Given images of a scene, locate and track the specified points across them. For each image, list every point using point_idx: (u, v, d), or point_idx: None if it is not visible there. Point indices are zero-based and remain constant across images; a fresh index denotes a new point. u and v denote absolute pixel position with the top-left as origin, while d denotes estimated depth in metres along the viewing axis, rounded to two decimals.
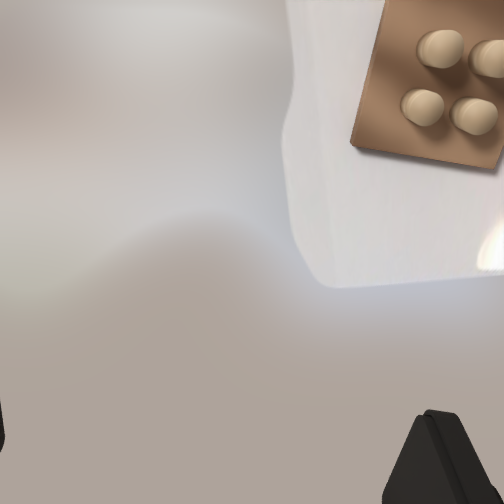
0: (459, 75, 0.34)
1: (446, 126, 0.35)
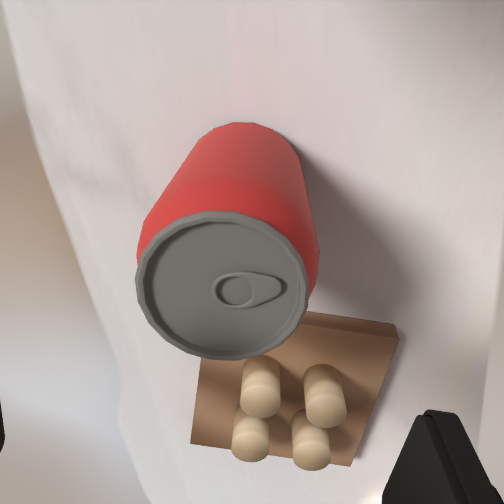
0: (296, 391, 0.29)
1: (290, 431, 0.31)
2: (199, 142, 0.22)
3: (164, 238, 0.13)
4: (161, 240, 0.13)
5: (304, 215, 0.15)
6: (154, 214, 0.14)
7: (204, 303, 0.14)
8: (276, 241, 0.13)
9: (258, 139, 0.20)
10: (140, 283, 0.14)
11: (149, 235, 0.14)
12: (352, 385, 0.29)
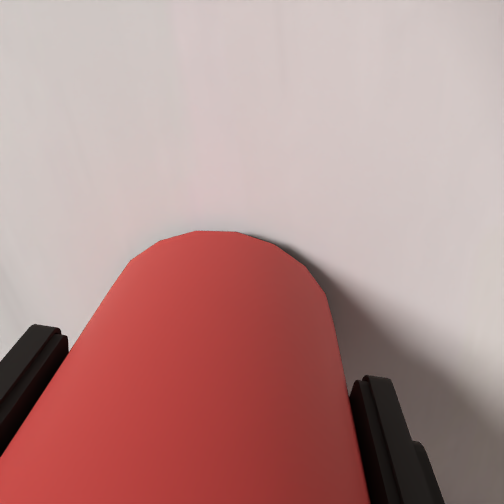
0: None
1: None
2: (122, 280, 0.10)
3: None
4: None
5: None
6: None
7: None
8: None
9: (241, 307, 0.08)
10: None
11: None
12: None
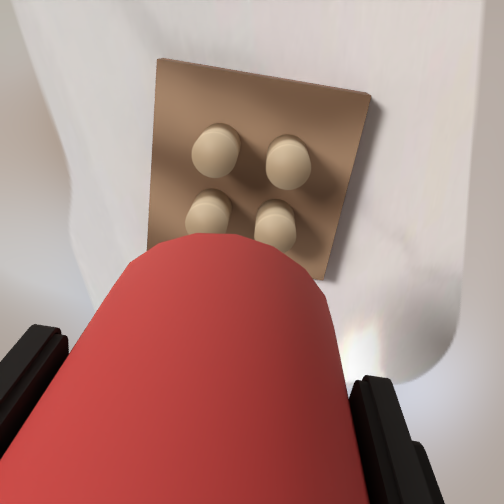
0: (260, 174, 0.27)
1: None
2: (121, 283, 0.10)
3: None
4: None
5: None
6: None
7: None
8: None
9: (241, 311, 0.08)
10: None
11: None
12: (321, 164, 0.26)
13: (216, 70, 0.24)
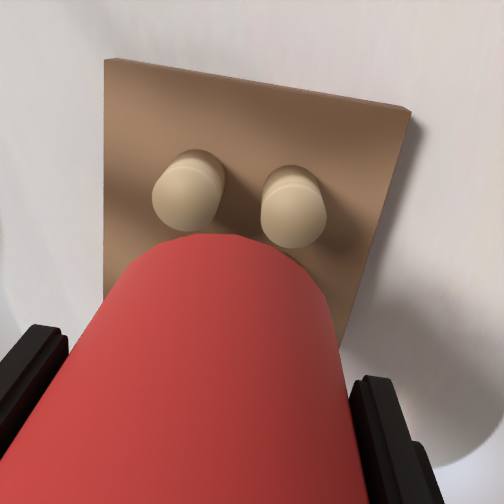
0: (254, 219, 0.19)
1: None
2: (121, 284, 0.10)
3: None
4: None
5: None
6: None
7: None
8: None
9: (241, 311, 0.08)
10: None
11: None
12: (338, 205, 0.19)
13: (189, 75, 0.17)
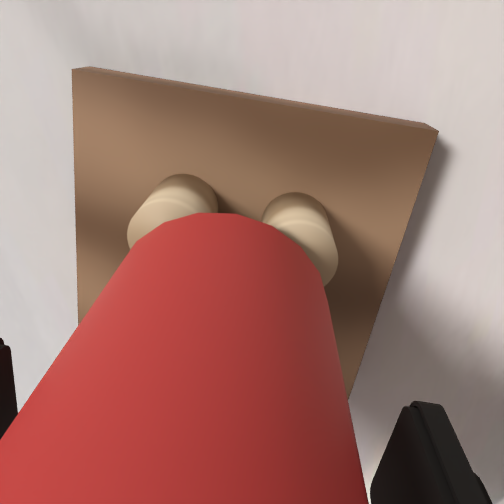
0: None
1: None
2: (129, 257, 0.11)
3: None
4: None
5: None
6: None
7: None
8: None
9: (240, 277, 0.09)
10: None
11: None
12: (349, 238, 0.16)
13: (174, 88, 0.14)
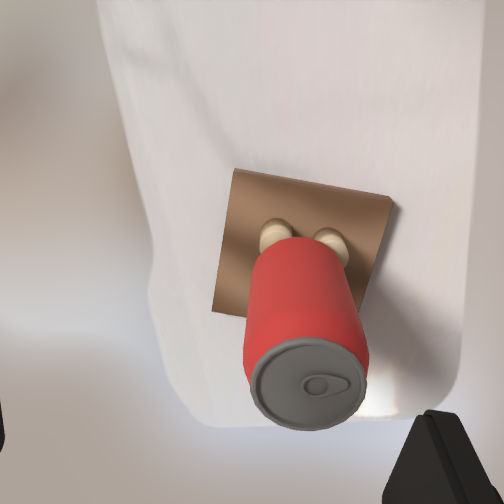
0: None
1: None
2: (269, 253, 0.29)
3: (275, 353, 0.20)
4: (273, 354, 0.20)
5: (360, 332, 0.22)
6: (261, 331, 0.22)
7: (294, 392, 0.21)
8: (348, 357, 0.20)
9: (317, 259, 0.27)
10: (254, 380, 0.21)
11: (259, 347, 0.21)
12: (353, 249, 0.34)
13: (277, 181, 0.32)
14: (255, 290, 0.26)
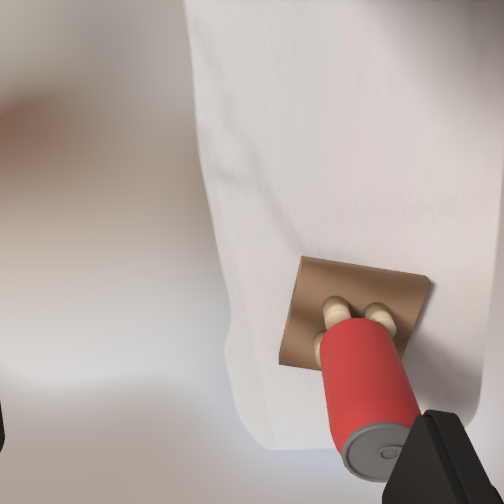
0: None
1: None
2: (337, 334, 0.37)
3: (362, 434, 0.29)
4: (360, 434, 0.29)
5: (418, 411, 0.30)
6: (348, 414, 0.30)
7: (372, 456, 0.30)
8: None
9: (378, 343, 0.35)
10: (346, 450, 0.29)
11: (348, 426, 0.30)
12: (396, 317, 0.42)
13: (337, 269, 0.40)
14: (332, 369, 0.35)
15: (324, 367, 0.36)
